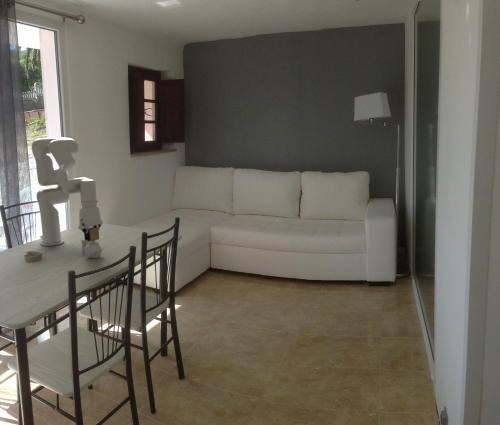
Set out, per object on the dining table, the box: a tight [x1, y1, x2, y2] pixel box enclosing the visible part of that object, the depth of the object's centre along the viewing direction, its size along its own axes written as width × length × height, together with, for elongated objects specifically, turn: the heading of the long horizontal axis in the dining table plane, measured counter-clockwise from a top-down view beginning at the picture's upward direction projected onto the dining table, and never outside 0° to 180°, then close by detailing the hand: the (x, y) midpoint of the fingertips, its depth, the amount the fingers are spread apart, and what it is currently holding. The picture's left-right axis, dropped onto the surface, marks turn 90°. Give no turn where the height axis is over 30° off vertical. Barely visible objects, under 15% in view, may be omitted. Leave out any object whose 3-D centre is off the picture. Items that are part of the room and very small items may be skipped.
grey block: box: [81, 238, 96, 252], centre depth 259 cm, size 5×5×6 cm
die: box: [83, 241, 103, 259], centre depth 246 cm, size 8×9×10 cm
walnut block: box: [88, 226, 100, 242], centre depth 244 cm, size 5×5×6 cm
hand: (91, 238), depth 245 cm, fingers closed on walnut block, 5 cm apart
